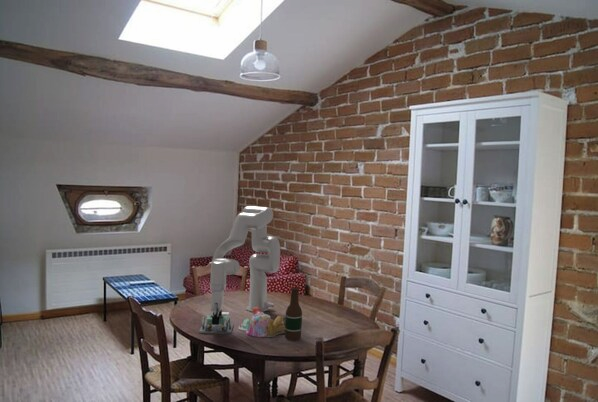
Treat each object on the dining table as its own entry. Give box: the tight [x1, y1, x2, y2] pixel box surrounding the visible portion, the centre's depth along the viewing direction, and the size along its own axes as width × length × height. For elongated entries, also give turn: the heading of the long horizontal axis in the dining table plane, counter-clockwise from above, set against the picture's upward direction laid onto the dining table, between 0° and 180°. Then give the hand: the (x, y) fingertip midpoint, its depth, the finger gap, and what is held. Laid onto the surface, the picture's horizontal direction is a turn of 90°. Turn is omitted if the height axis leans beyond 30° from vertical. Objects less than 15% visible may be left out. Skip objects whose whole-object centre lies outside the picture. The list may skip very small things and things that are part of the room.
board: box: [205, 314, 229, 325], centre depth 218 cm, size 10×6×3 cm, turn 92°
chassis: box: [198, 313, 234, 335], centre depth 218 cm, size 15×12×6 cm
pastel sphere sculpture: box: [238, 307, 285, 338], centre depth 221 cm, size 25×24×9 cm
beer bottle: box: [284, 286, 303, 342], centre depth 210 cm, size 8×8×24 cm
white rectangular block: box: [222, 311, 230, 321], centre depth 233 cm, size 8×4×4 cm, turn 92°
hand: (216, 321), depth 218 cm, fingers open, 9 cm apart
